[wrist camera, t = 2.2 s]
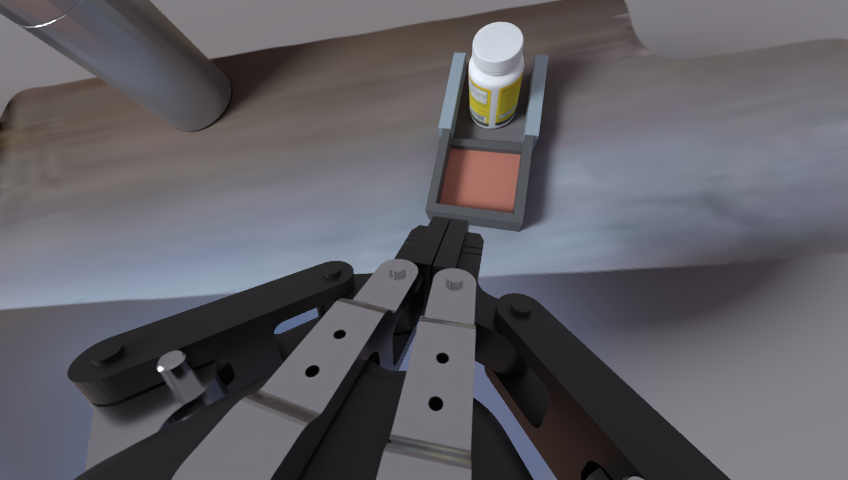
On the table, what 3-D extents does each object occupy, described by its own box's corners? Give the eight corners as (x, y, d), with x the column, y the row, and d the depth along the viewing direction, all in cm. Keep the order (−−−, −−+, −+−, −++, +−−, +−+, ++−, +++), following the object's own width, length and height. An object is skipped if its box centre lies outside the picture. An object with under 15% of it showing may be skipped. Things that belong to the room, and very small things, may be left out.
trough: (533, 150, 30) (538, 135, 28) (441, 142, 32) (438, 127, 30) (543, 74, 32) (548, 55, 30) (455, 71, 34) (454, 52, 32)
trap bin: (518, 231, 29) (522, 223, 26) (429, 219, 30) (425, 210, 28) (529, 149, 30) (534, 135, 28) (444, 142, 32) (442, 128, 30)
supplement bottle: (517, 91, 32) (531, 16, 24) (514, 130, 31) (528, 64, 23) (471, 91, 33) (470, 18, 25) (467, 130, 32) (465, 66, 24)
